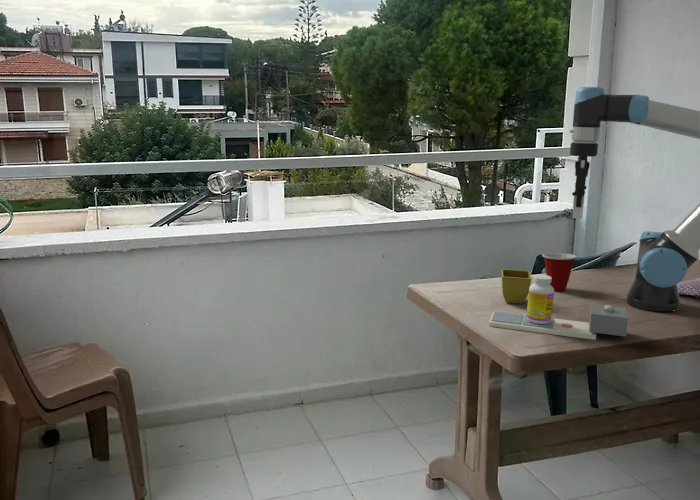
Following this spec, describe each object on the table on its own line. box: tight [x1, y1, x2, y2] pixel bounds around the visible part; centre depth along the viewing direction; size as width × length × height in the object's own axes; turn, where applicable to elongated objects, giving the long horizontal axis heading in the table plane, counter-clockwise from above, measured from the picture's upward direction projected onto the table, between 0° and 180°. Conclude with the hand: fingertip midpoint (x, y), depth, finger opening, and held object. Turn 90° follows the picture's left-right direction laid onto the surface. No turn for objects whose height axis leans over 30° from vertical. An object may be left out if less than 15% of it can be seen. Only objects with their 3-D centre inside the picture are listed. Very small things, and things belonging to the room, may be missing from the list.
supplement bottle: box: [526, 274, 555, 324], centre depth 178 cm, size 7×7×13 cm
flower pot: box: [501, 268, 533, 305], centre depth 201 cm, size 9×9×9 cm
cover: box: [588, 303, 629, 337], centre depth 173 cm, size 9×9×6 cm
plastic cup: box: [542, 252, 577, 293], centre depth 214 cm, size 11×11×12 cm
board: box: [488, 310, 597, 341], centre depth 180 cm, size 28×10×2 cm, turn 71°
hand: (577, 214), depth 191 cm, fingers open, 13 cm apart
